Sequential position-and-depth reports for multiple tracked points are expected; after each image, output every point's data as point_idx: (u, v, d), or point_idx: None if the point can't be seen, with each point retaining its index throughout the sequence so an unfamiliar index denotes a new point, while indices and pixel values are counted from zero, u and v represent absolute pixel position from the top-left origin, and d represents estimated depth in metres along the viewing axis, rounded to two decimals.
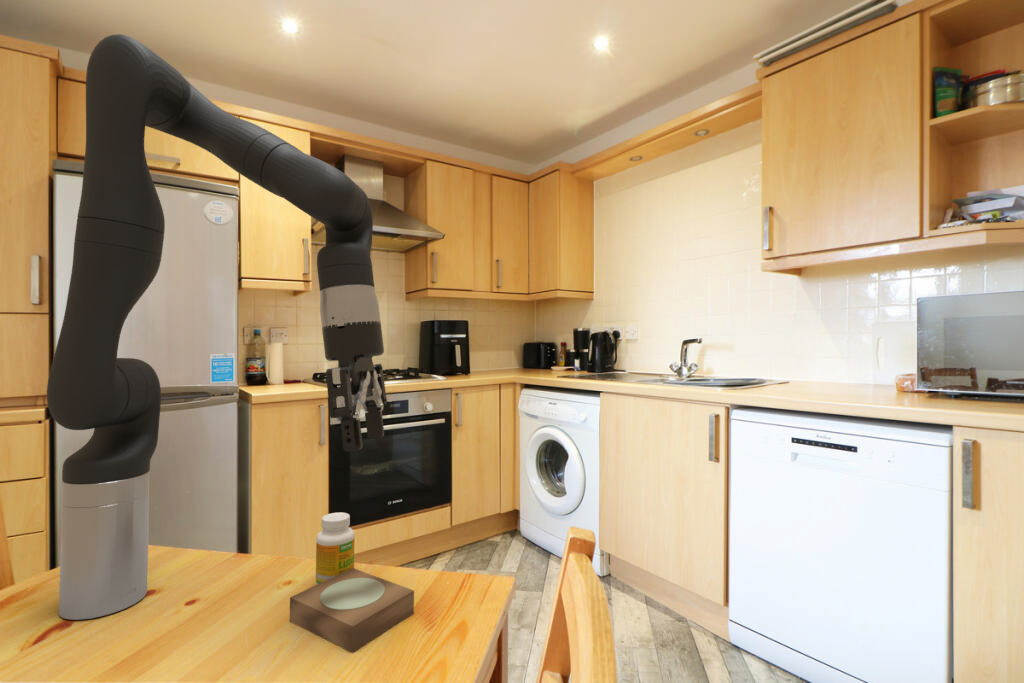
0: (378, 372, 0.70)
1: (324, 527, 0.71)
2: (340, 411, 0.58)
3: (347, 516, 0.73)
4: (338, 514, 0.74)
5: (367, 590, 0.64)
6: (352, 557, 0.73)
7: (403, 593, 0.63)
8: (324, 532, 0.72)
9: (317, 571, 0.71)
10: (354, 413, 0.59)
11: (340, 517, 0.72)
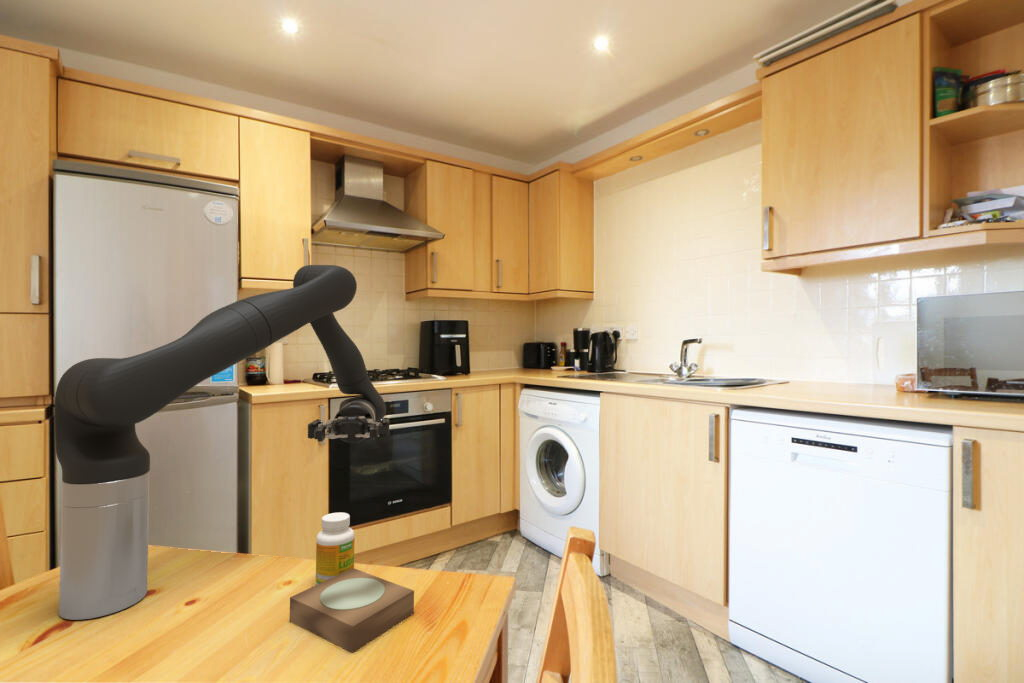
0: None
1: (324, 527, 0.71)
2: None
3: (347, 516, 0.73)
4: (338, 514, 0.74)
5: (367, 590, 0.64)
6: (352, 557, 0.73)
7: (403, 593, 0.63)
8: (324, 532, 0.72)
9: (317, 571, 0.71)
10: None
11: (340, 517, 0.72)
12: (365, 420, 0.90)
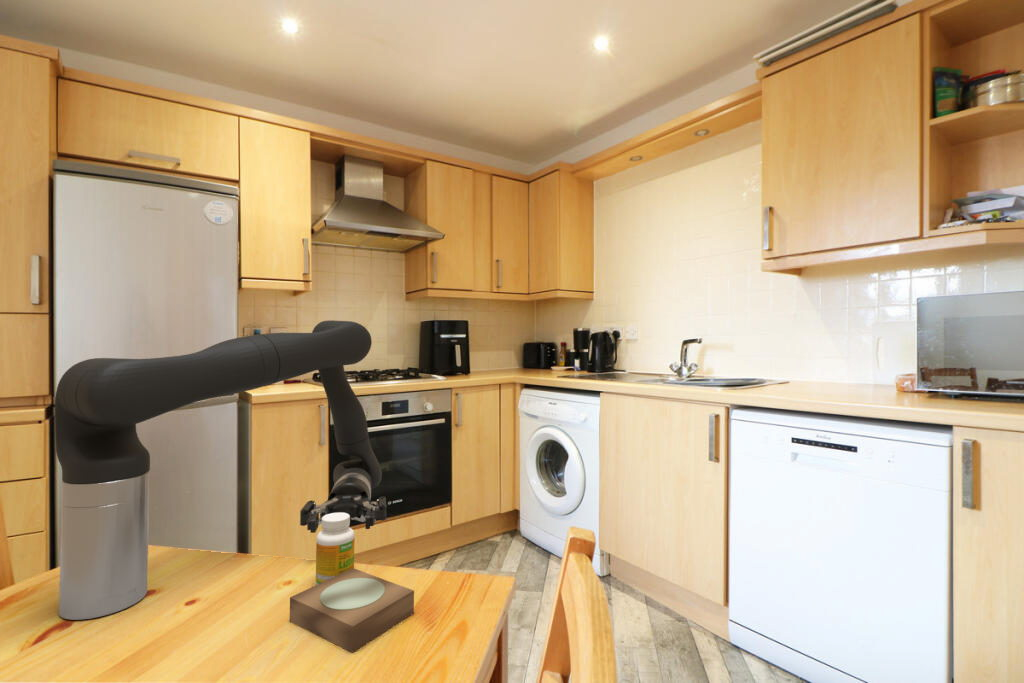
0: None
1: (324, 527, 0.71)
2: None
3: (347, 516, 0.73)
4: (338, 514, 0.74)
5: (367, 590, 0.64)
6: (352, 557, 0.73)
7: (403, 593, 0.63)
8: (324, 532, 0.72)
9: (317, 571, 0.71)
10: (375, 519, 0.85)
11: (340, 517, 0.72)
12: (361, 503, 0.86)
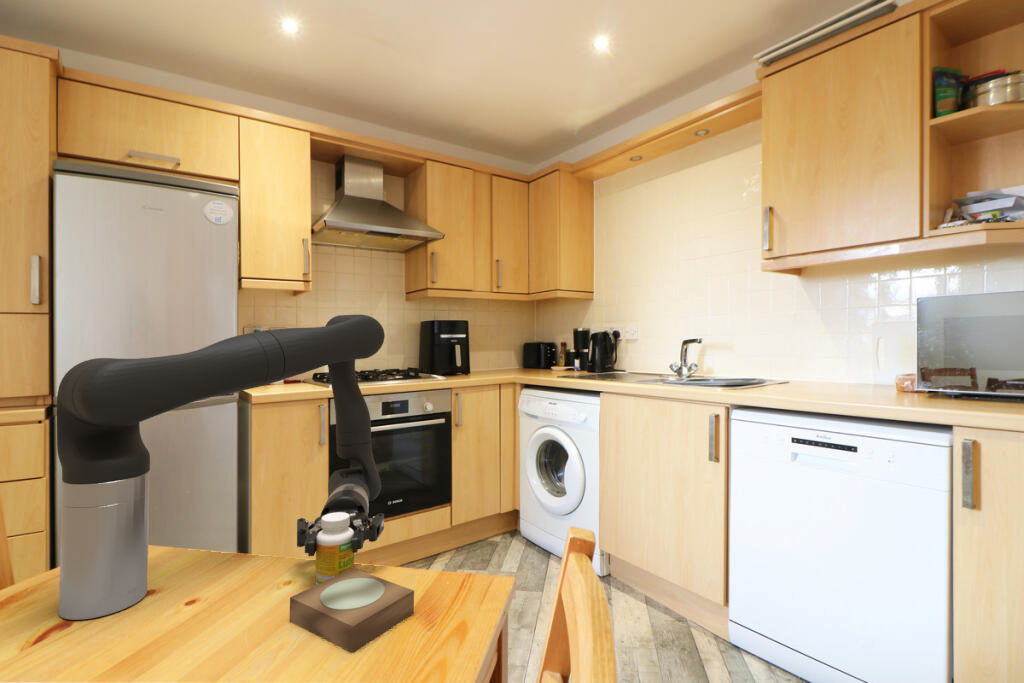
0: None
1: (324, 527, 0.71)
2: None
3: (347, 516, 0.73)
4: (338, 514, 0.74)
5: (367, 590, 0.64)
6: (352, 557, 0.73)
7: (403, 593, 0.63)
8: (324, 532, 0.72)
9: (317, 571, 0.71)
10: (364, 541, 0.76)
11: (340, 517, 0.72)
12: (352, 521, 0.77)
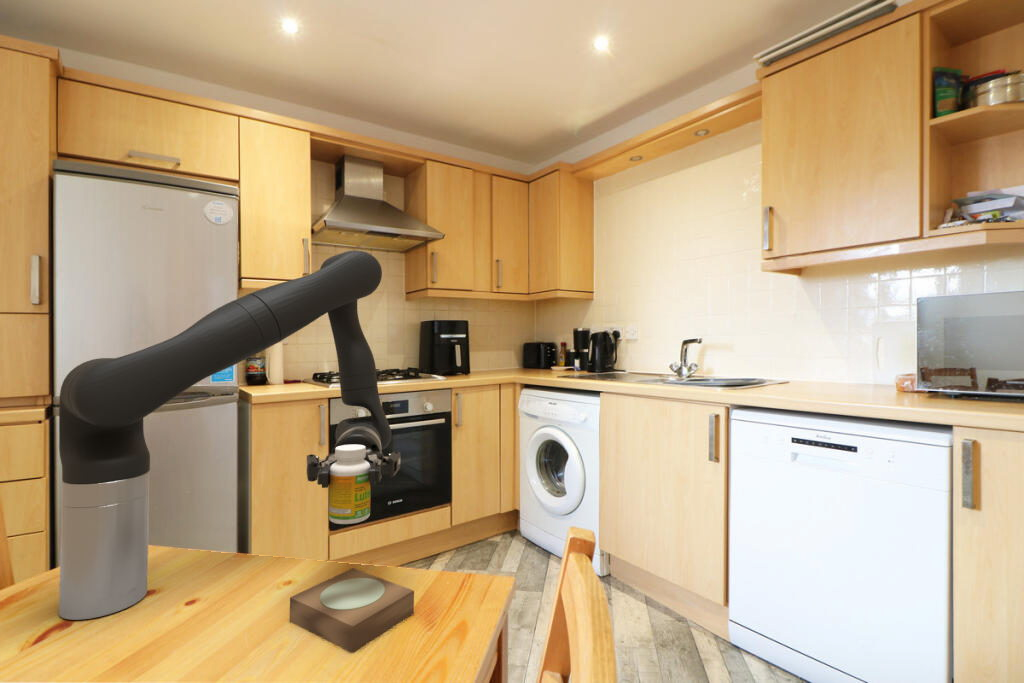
0: None
1: (338, 457, 0.65)
2: None
3: (363, 447, 0.67)
4: (353, 445, 0.68)
5: (367, 590, 0.64)
6: (369, 491, 0.66)
7: (403, 593, 0.63)
8: (338, 462, 0.65)
9: (331, 505, 0.65)
10: None
11: (355, 447, 0.66)
12: (367, 456, 0.71)
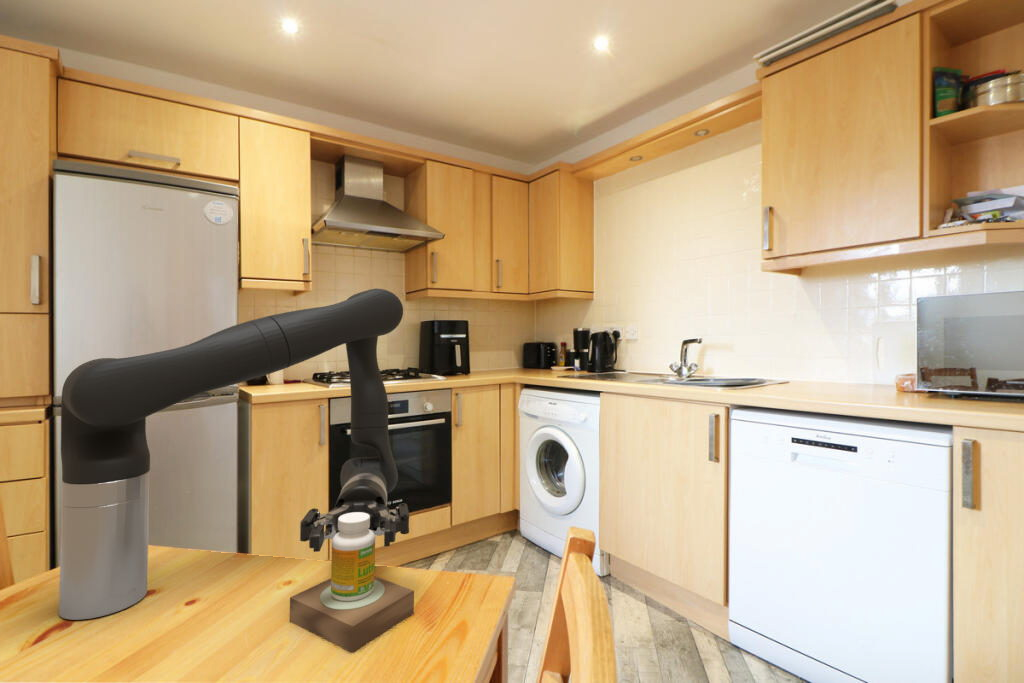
0: None
1: (341, 529, 0.62)
2: None
3: (367, 516, 0.64)
4: (356, 514, 0.65)
5: None
6: (373, 564, 0.63)
7: (403, 593, 0.63)
8: (341, 534, 0.62)
9: (333, 580, 0.62)
10: None
11: (359, 518, 0.63)
12: (377, 512, 0.68)
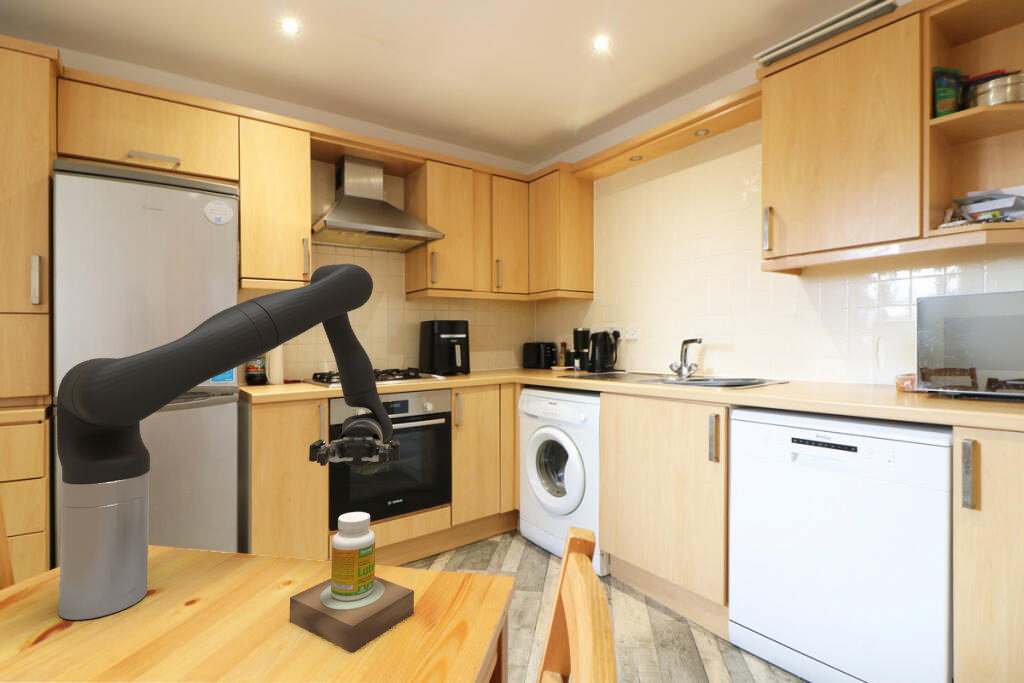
0: None
1: (341, 528, 0.62)
2: None
3: (367, 516, 0.64)
4: (357, 513, 0.65)
5: None
6: (373, 563, 0.63)
7: (403, 593, 0.63)
8: (341, 534, 0.62)
9: (333, 579, 0.62)
10: (388, 459, 0.80)
11: (359, 517, 0.63)
12: (373, 442, 0.81)
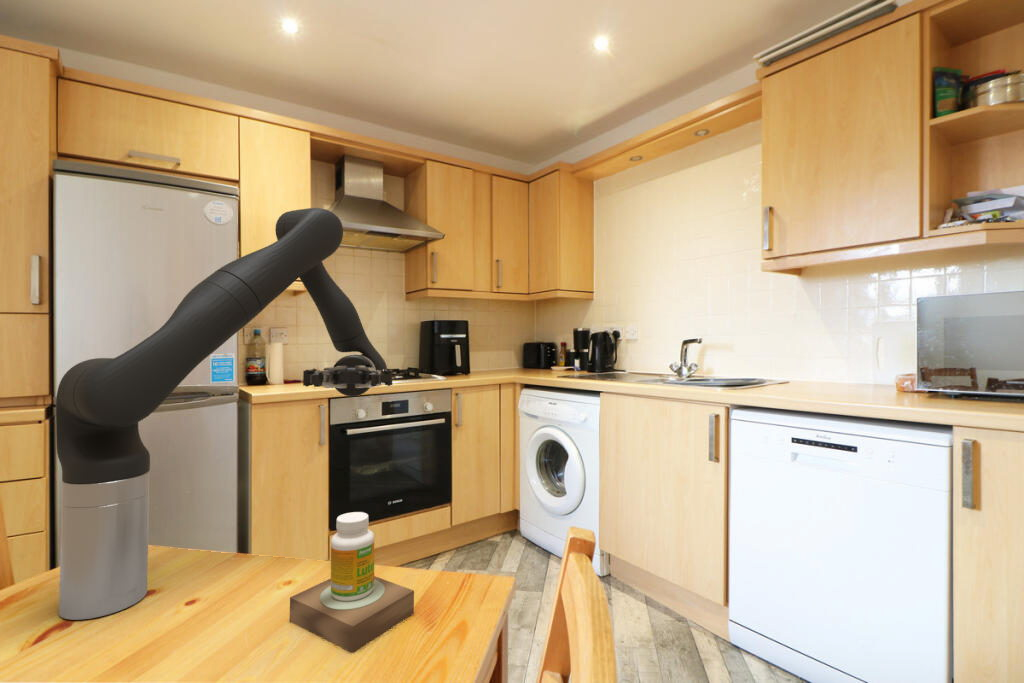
0: None
1: (339, 529, 0.62)
2: None
3: (365, 516, 0.64)
4: (355, 514, 0.65)
5: None
6: (372, 563, 0.63)
7: (403, 593, 0.63)
8: (339, 534, 0.62)
9: (332, 580, 0.62)
10: None
11: (358, 518, 0.63)
12: (366, 368, 0.83)
